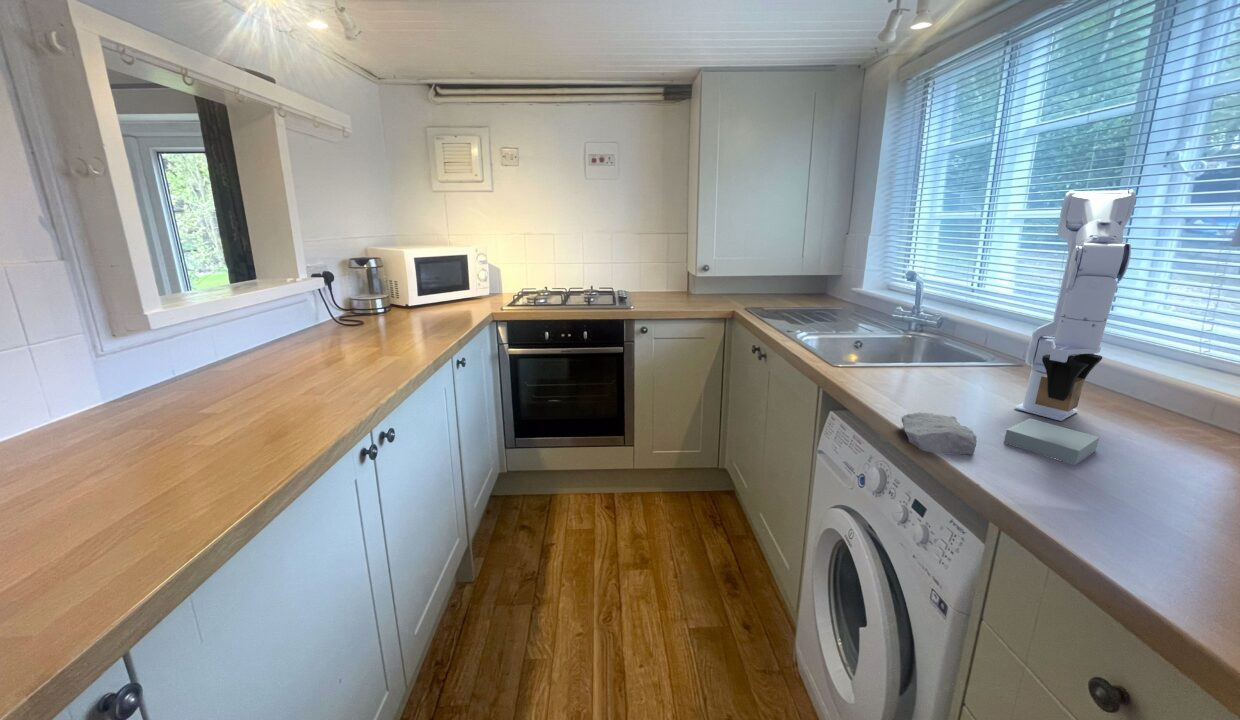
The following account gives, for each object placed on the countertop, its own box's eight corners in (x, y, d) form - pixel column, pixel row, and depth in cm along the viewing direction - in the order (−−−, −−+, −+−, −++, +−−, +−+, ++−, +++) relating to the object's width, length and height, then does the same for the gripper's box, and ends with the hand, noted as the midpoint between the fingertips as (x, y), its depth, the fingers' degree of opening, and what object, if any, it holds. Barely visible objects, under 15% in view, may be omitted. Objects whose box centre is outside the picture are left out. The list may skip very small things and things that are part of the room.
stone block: (916, 462, 86) (982, 457, 84) (914, 436, 85) (981, 430, 83) (893, 436, 97) (951, 431, 95) (892, 412, 96) (949, 407, 94)
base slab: (1025, 432, 95) (1029, 418, 94) (1094, 453, 87) (1099, 437, 86) (1003, 444, 89) (1006, 429, 89) (1074, 467, 81) (1079, 450, 81)
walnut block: (1044, 399, 89) (1051, 372, 88) (1077, 406, 86) (1084, 378, 84) (1035, 403, 87) (1041, 376, 86) (1067, 411, 83) (1075, 383, 82)
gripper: (1068, 310, 89) (1049, 382, 92) (1035, 318, 81) (1016, 396, 85) (1121, 317, 83) (1099, 393, 87) (1092, 326, 75) (1069, 409, 79)
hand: (1061, 396), depth 85 cm, fingers closed on walnut block, 4 cm apart
